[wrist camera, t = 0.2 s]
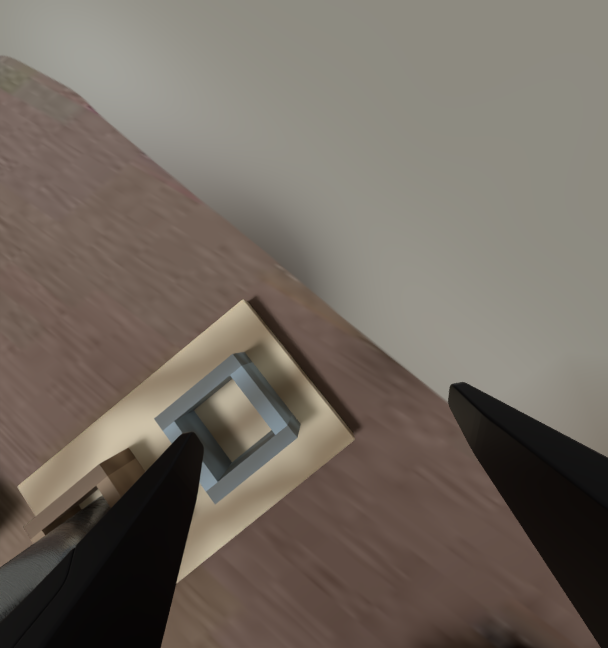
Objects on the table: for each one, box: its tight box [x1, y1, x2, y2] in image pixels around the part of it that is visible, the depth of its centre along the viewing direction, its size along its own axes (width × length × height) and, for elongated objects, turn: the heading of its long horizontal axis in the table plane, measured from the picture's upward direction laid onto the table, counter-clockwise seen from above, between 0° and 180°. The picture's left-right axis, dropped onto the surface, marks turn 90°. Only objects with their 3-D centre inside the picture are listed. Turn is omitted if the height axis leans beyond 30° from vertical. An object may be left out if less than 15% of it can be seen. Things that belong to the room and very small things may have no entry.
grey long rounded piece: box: [0, 495, 111, 622], centre depth 17 cm, size 4×4×11 cm
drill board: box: [17, 300, 355, 583], centre depth 21 cm, size 16×28×4 cm, turn 129°
